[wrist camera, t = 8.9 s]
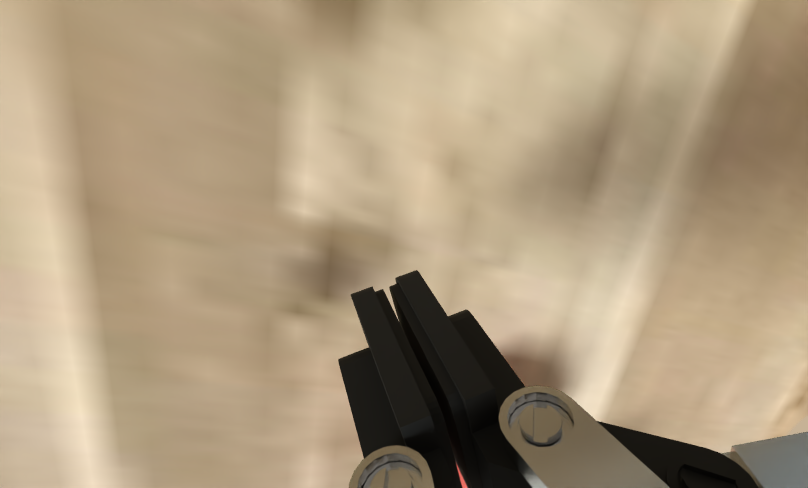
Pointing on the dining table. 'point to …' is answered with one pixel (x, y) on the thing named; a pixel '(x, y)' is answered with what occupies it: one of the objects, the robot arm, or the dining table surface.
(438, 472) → the robot arm
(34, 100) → the dining table surface
